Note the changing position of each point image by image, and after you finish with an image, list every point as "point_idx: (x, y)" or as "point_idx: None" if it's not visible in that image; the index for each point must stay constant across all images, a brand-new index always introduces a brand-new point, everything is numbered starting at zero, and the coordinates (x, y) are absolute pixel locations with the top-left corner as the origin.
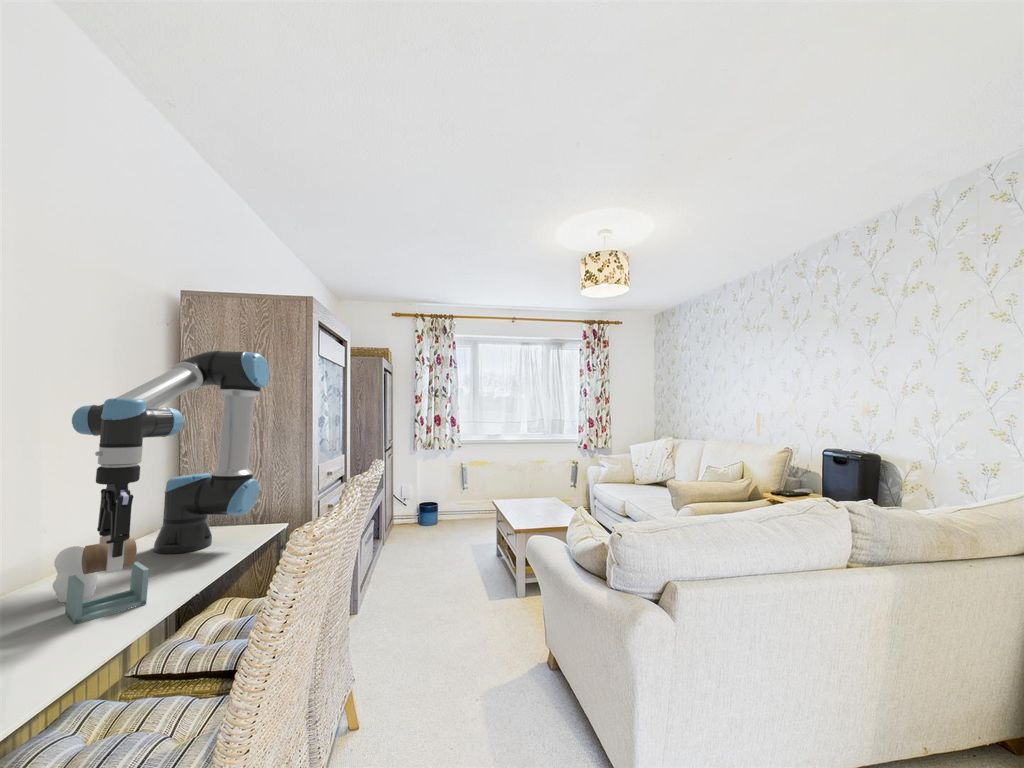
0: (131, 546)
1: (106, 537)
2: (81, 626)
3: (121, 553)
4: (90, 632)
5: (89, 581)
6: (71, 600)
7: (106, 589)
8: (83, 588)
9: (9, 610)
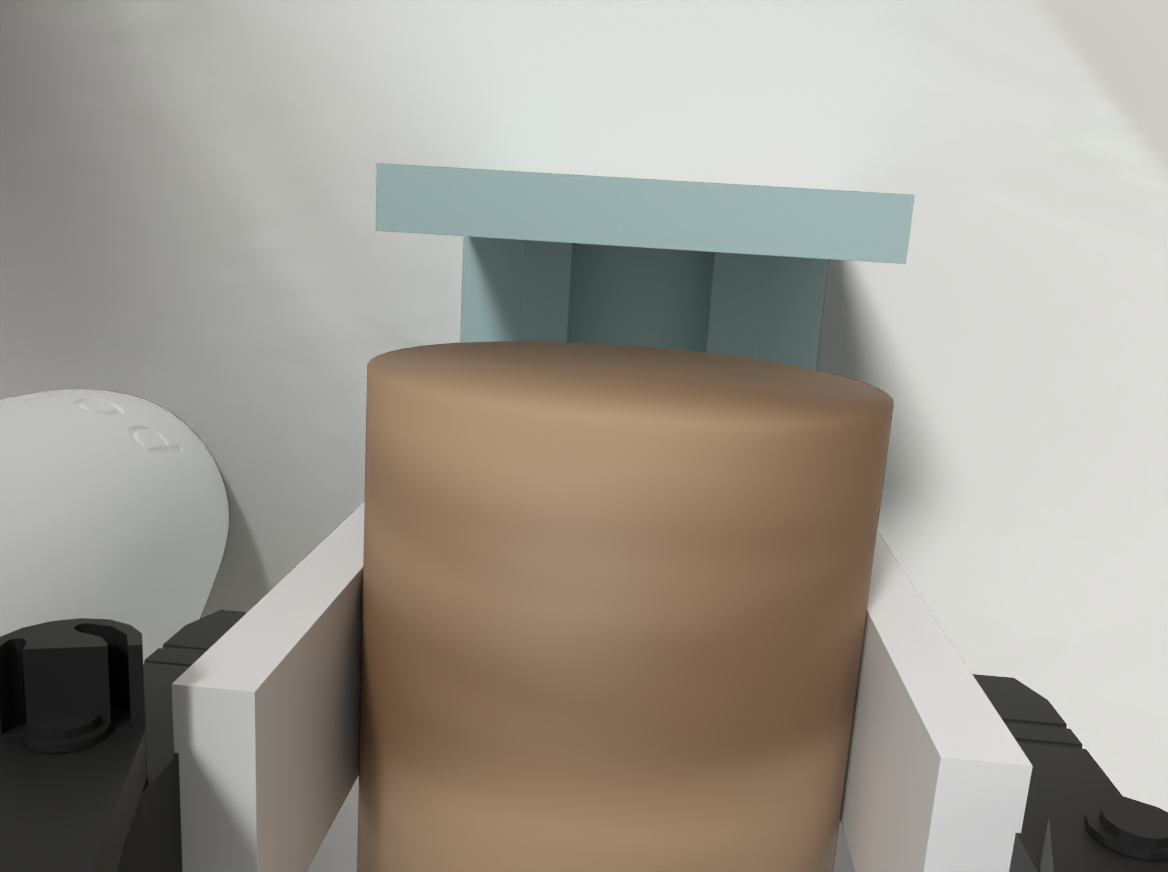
0: (851, 506)
1: (271, 851)
2: None
3: (1055, 720)
4: (1057, 673)
5: (151, 508)
6: None
7: (90, 288)
8: None
9: None
